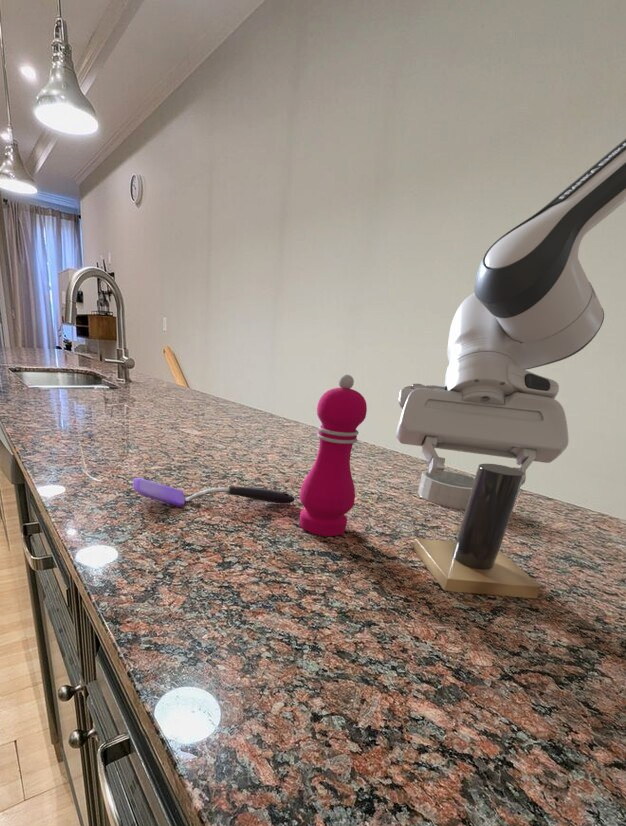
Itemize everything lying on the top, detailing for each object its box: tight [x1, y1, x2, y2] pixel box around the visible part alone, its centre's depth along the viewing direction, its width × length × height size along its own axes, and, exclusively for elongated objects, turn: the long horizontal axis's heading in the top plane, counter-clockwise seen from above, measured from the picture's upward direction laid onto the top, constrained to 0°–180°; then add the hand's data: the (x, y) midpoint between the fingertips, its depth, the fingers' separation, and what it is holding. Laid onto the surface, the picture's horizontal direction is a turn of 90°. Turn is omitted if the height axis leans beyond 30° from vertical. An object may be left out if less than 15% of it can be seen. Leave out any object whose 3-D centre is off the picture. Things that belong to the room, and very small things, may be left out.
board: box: [412, 538, 542, 600], centre depth 52 cm, size 10×10×2 cm
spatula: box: [132, 477, 295, 508], centre depth 66 cm, size 24×7×2 cm, turn 98°
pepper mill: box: [298, 374, 368, 537], centre depth 57 cm, size 7×7×20 cm
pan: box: [417, 469, 475, 510], centre depth 75 cm, size 10×10×4 cm
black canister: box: [452, 463, 525, 569], centre depth 50 cm, size 4×4×11 cm
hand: (475, 478), depth 56 cm, fingers open, 8 cm apart
